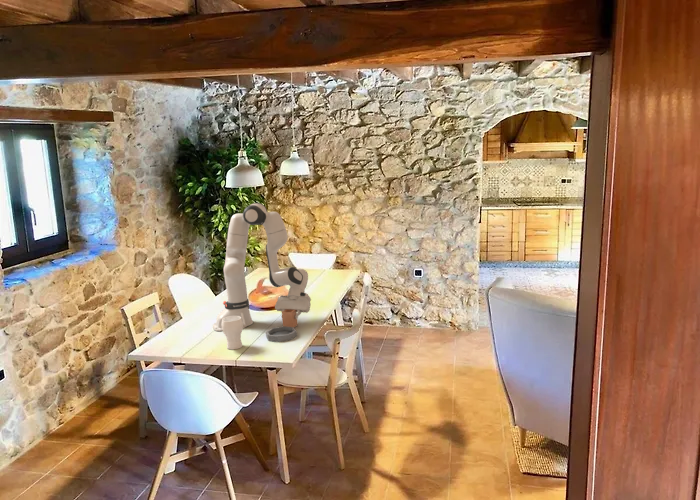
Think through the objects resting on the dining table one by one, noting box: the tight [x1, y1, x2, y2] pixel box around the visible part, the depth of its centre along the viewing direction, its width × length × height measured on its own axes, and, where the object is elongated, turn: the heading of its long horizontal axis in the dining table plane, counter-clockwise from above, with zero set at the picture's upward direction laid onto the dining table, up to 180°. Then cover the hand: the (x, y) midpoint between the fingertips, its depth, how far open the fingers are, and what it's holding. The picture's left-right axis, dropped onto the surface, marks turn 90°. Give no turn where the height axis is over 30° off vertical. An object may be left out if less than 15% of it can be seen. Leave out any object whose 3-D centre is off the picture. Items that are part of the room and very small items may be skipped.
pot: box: [281, 309, 299, 328], centre depth 318 cm, size 6×6×9 cm
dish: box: [265, 325, 298, 343], centre depth 304 cm, size 15×15×3 cm
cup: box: [221, 316, 244, 350], centre depth 293 cm, size 11×11×15 cm
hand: (289, 318), depth 318 cm, fingers closed on pot, 6 cm apart
